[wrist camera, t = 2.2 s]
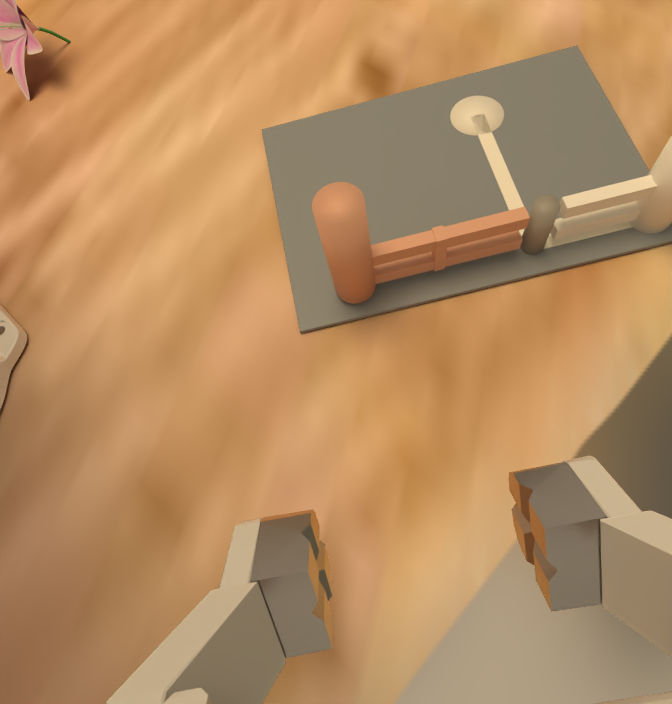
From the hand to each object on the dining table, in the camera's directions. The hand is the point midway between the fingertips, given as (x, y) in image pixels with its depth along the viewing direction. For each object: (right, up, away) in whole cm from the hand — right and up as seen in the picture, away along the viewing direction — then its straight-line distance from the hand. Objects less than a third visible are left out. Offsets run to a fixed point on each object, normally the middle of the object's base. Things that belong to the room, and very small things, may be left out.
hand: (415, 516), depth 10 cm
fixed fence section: (+18, +13, +30) cm, 37 cm away
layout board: (+8, +18, +34) cm, 39 cm away
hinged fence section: (+5, +10, +30) cm, 32 cm away
